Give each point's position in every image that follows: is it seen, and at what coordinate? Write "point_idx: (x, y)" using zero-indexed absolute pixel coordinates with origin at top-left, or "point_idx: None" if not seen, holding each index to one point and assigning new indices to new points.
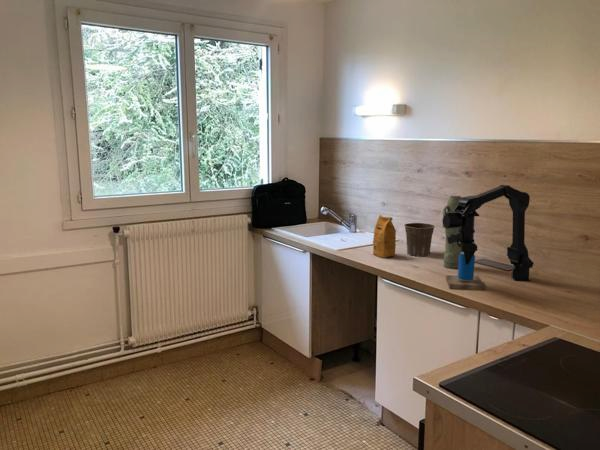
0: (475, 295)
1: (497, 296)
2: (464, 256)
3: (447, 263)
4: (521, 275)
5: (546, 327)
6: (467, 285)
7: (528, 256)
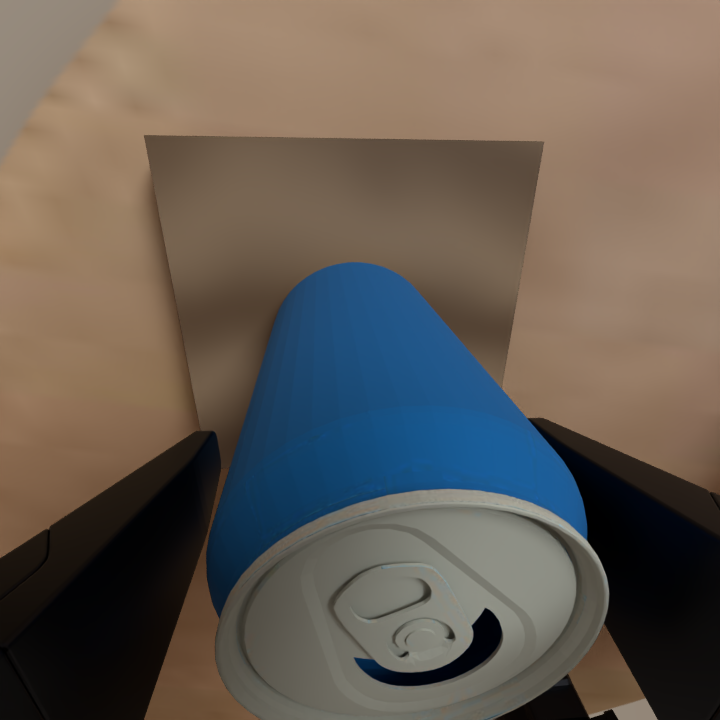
0: (27, 364)
1: (76, 504)
2: (68, 543)
3: None
4: None
5: None
6: (184, 333)
7: None
